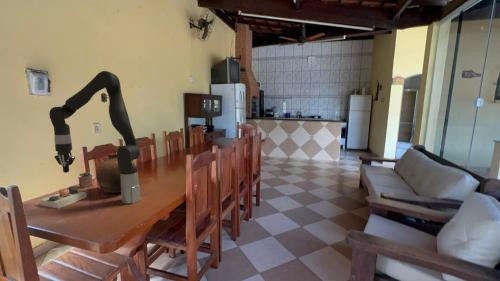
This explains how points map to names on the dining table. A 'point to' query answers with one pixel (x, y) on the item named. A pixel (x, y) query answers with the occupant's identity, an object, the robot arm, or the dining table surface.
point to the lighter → (85, 180)
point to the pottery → (109, 175)
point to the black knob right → (73, 189)
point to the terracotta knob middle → (63, 192)
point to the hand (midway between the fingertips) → (66, 172)
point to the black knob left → (53, 198)
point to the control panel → (63, 199)
